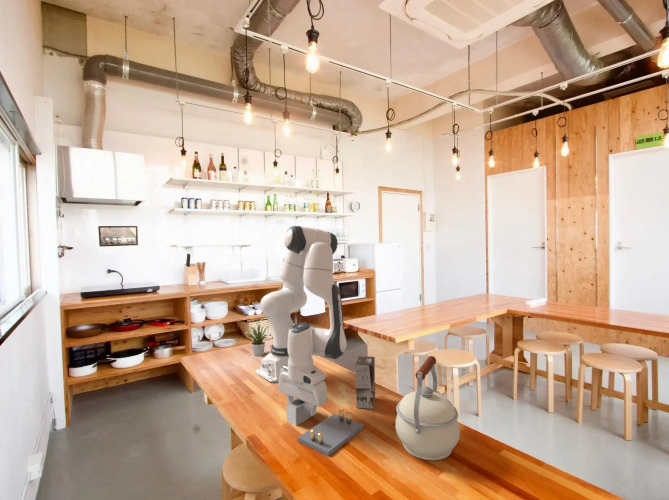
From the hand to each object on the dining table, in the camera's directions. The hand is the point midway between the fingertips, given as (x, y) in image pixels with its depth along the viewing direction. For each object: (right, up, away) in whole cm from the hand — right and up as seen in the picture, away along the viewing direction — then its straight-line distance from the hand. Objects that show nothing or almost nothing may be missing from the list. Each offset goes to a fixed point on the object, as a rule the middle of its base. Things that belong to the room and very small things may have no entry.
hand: (301, 410), depth 121 cm
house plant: (-29, 0, +67) cm, 73 cm away
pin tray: (+10, -3, -11) cm, 15 cm away
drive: (0, -3, 0) cm, 2 cm away
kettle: (+39, -3, -16) cm, 43 cm away
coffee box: (+23, -2, +10) cm, 25 cm away
